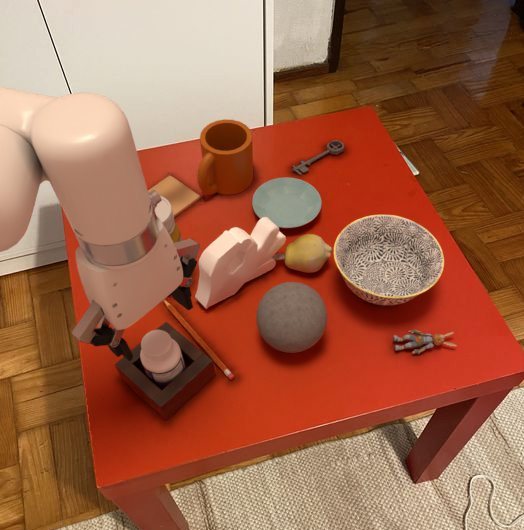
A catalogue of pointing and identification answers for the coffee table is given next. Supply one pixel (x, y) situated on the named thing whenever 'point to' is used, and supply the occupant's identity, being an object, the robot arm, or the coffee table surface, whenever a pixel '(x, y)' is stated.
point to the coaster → (176, 194)
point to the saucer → (287, 202)
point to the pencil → (199, 341)
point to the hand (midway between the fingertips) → (154, 327)
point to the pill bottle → (161, 358)
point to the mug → (225, 158)
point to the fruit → (306, 253)
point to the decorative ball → (291, 317)
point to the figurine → (421, 341)
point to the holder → (180, 387)
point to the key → (329, 150)
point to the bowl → (388, 259)
